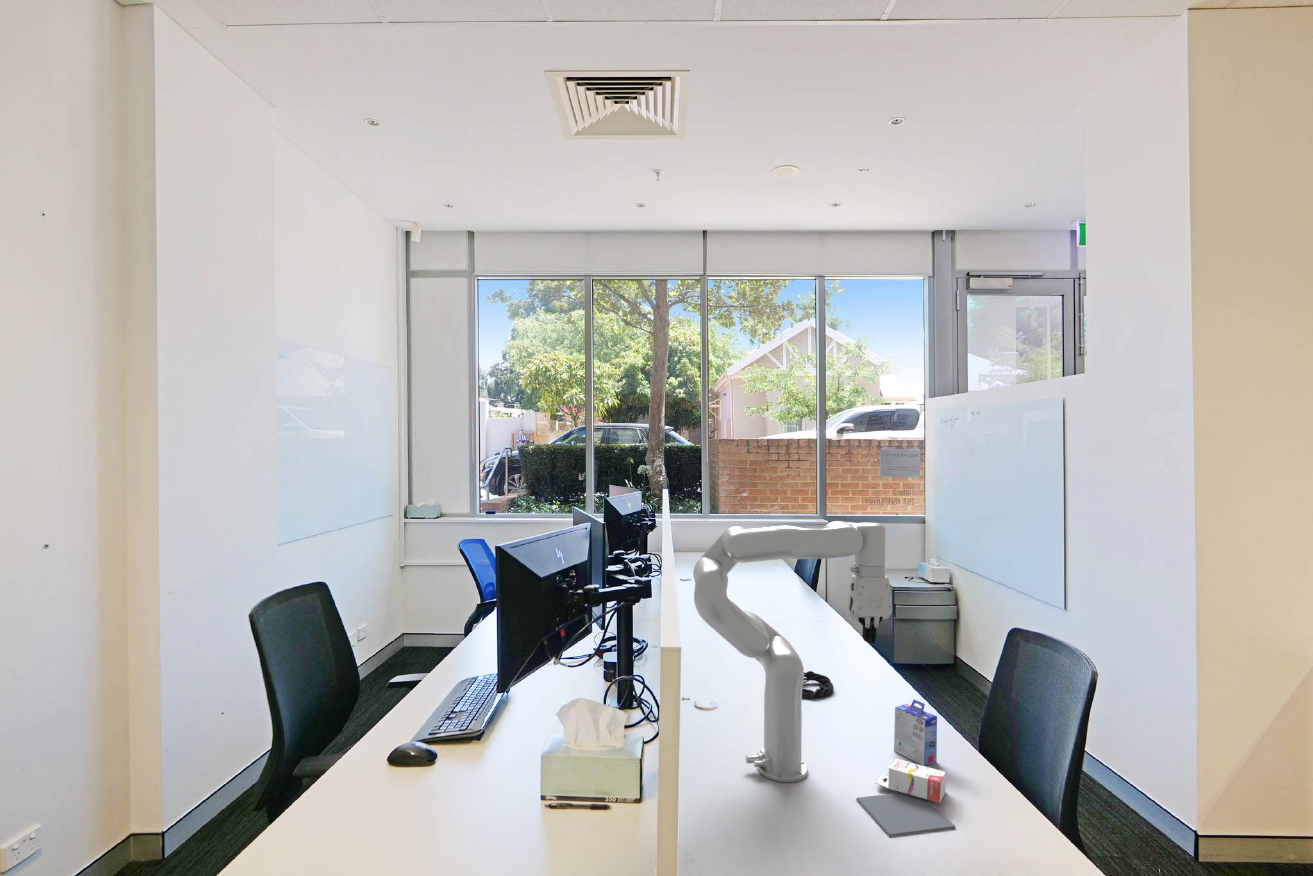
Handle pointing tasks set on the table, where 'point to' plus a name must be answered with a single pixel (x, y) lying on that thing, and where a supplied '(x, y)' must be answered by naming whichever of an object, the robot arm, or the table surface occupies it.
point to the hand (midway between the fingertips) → (869, 641)
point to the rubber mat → (904, 814)
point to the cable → (822, 690)
